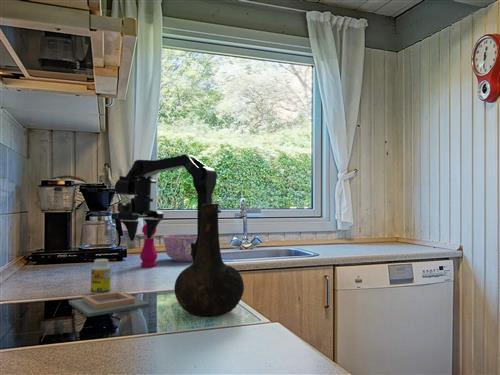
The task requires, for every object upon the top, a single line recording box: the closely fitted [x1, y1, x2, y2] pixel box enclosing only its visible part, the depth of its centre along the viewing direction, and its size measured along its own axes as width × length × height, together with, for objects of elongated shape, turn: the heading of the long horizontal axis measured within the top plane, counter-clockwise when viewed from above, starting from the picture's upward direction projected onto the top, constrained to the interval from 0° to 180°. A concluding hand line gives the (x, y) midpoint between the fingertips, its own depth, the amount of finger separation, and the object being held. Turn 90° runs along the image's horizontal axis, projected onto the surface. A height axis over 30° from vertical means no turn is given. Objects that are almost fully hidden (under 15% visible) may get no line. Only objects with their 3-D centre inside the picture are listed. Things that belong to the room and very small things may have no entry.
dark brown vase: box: [173, 202, 245, 318], centre depth 102 cm, size 18×18×28 cm
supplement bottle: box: [90, 258, 112, 295], centre depth 121 cm, size 6×6×10 cm
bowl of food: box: [162, 233, 197, 263], centre depth 190 cm, size 20×20×12 cm
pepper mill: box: [139, 223, 158, 269], centre depth 171 cm, size 7×7×20 cm
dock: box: [68, 291, 150, 318], centre depth 108 cm, size 16×16×2 cm
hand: (140, 239), depth 141 cm, fingers open, 9 cm apart
